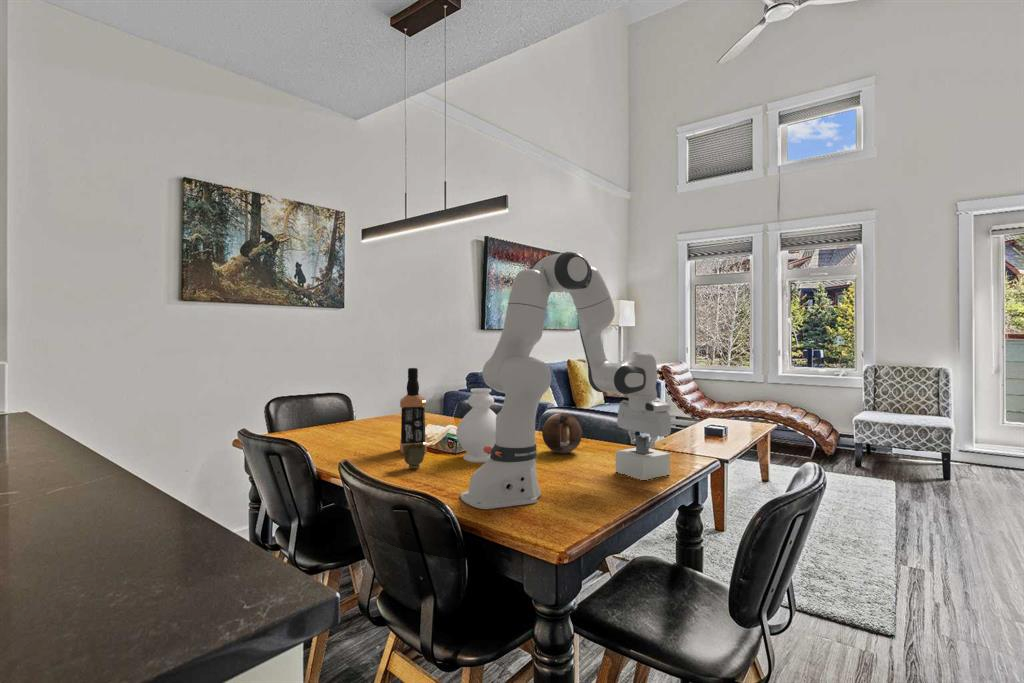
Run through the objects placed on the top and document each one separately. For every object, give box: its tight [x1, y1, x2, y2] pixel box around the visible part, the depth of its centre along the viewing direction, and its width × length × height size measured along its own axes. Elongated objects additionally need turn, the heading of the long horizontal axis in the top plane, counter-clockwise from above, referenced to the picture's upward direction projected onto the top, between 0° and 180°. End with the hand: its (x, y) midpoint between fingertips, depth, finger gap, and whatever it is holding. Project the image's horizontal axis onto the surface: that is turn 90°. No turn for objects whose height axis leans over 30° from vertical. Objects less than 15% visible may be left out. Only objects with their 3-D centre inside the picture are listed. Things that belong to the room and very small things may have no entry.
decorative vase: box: [455, 387, 497, 463], centre depth 187 cm, size 18×18×25 cm
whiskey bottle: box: [399, 367, 428, 456], centre depth 197 cm, size 10×10×32 cm
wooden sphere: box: [541, 412, 583, 454], centre depth 195 cm, size 15×15×15 cm
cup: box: [403, 443, 426, 471], centre depth 172 cm, size 8×7×8 cm
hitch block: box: [615, 447, 671, 481], centre depth 166 cm, size 12×12×7 cm
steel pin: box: [635, 434, 650, 455], centre depth 166 cm, size 4×4×12 cm
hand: (642, 445), depth 166 cm, fingers open, 6 cm apart
